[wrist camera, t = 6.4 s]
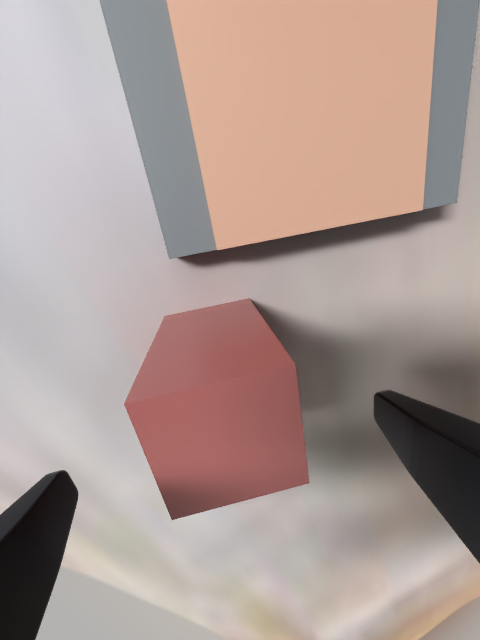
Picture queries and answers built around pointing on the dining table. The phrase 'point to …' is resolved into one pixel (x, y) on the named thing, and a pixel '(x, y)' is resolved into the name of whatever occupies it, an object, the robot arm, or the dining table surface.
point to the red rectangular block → (218, 410)
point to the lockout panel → (293, 111)
